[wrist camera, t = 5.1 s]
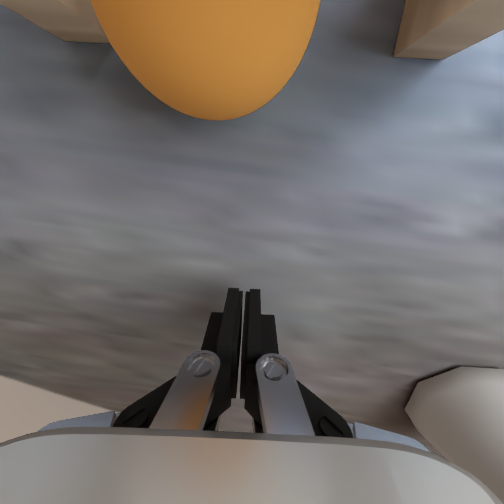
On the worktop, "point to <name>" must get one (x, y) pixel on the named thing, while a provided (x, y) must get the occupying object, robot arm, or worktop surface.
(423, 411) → the flask
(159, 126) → the worktop surface
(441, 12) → the bridge
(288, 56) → the ball
